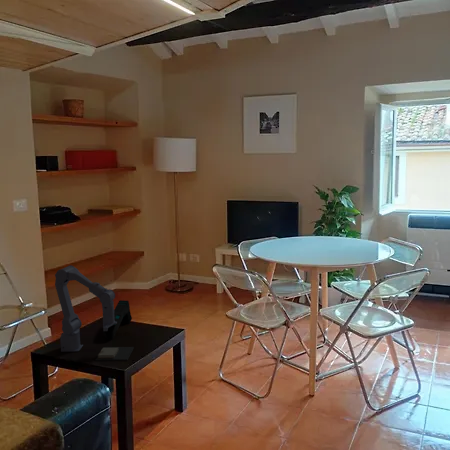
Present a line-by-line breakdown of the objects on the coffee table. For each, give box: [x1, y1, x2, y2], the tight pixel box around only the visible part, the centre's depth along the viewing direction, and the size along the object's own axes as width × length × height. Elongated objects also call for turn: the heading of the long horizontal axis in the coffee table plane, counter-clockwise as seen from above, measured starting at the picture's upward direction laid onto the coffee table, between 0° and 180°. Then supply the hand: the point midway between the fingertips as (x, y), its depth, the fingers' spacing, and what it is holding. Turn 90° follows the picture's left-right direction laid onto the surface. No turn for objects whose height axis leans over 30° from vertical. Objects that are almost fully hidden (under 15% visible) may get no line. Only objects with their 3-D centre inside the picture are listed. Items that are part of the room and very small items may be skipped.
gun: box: [102, 299, 133, 340], centre depth 278 cm, size 7×29×15 cm, turn 172°
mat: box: [95, 346, 135, 362], centre depth 245 cm, size 16×15×1 cm
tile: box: [97, 347, 119, 358], centre depth 244 cm, size 8×2×9 cm
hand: (109, 339), depth 247 cm, fingers closed
